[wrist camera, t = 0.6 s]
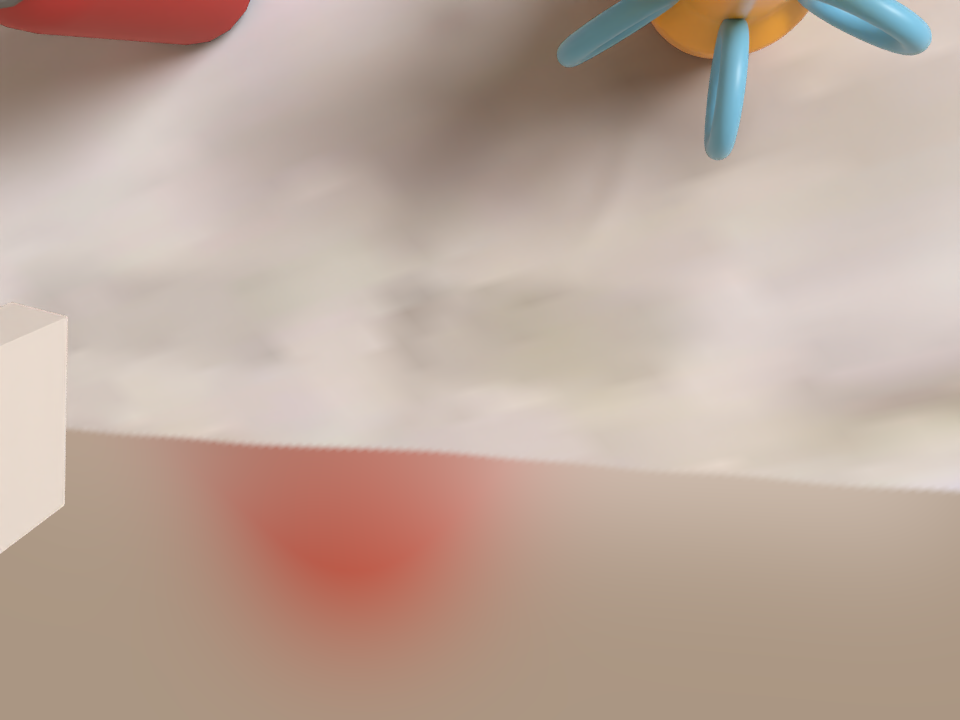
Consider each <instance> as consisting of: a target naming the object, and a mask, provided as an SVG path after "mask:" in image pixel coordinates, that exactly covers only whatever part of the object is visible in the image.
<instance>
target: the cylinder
mask: <svg viewBox="0 0 960 720" xmlns="http://www.w3.org/2000/svg"><path fill="white" fill-rule="evenodd" d="M808 11H810V12H811V13H813V14H814V15H816V16H817V17H819V18H821V19H822V20H824V21H826V22H827V23H829V24H831V25H832V26H834V27H836V28H838V29H840V30H842V31H844V32H846V33H848V34H850V35H852V36H854V37H856V38H858V39H860V40H862V41H865V42H867V43H869V44H872V45H874V46H877V47H879V48H882V49H885V50H888V51H891V52H894V53H898V54H902V55H916V54H919V53H921V52H923V51H924V50H926V49H927V48H928V46H929V45H930V42H931V39H932V34H931V30H930V28H929V26H928V25H927V24H926V23H925V21H924V20H923V19H921V18H920V17H919V16H918V15H917V14H915V13H914V12H913V11H911V10H910V9H908V8H907V7H905V6H904V5H902V4H901V3H899V2H897V1H895V0H621V1H619V2H618V3H616V4H615V5H613V6H611V7H610V8H608V9H607V10H605V11H604V12H602V13H601V14H599V15H598V16H596V17H595V18H593V19H592V20H590V21H589V22H587V23H586V24H585V25H583V26H582V27H580V28H579V29H578V30H576V31H575V32H574V33H572V34H571V35H570V36H569V37H568V38H566V39H565V40H564V41H563V42H562V43H561V45H560V46H559V48H558V50H557V59H558V61H559V63H560V64H561V65H563V66H565V67H574V66H577V65H579V64H581V63H583V62H585V61H587V60H589V59H591V58H593V57H594V56H596V55H598V54H600V53H601V52H603V51H605V50H606V49H608V48H610V47H612V46H613V45H615V44H617V43H618V42H620V41H621V40H623V39H625V38H626V37H628V36H629V35H631V34H633V33H634V32H636V31H637V30H639V29H640V28H642V27H644V26H645V25H647V24H648V23H650V22H651V23H652V24H653V26H654V27H655V29H656V30H657V31H658V33H659V34H660V35H661V36H662V37H663V38H664V39H665V40H666V41H667V42H669V43H670V44H671V45H673V46H674V47H676V48H677V49H679V50H681V51H683V52H685V53H688V54H690V55H693V56H696V57H701V58H708V59H713V60H712V67H711V74H710V81H709V89H708V97H707V107H706V118H705V136H704V143H705V151H706V153H707V155H708V156H709V157H710V158H711V159H714V160H722V159H724V158H726V157H727V156H728V155H729V154H730V153H731V151H732V149H733V146H734V143H735V140H736V136H737V132H738V128H739V123H740V118H741V112H742V106H743V100H744V93H745V86H746V78H747V68H748V56H749V53H752V52H755V51H758V50H760V49H762V48H765V47H767V46H769V45H771V44H772V43H774V42H776V41H777V40H779V39H780V38H782V37H783V36H784V35H786V34H787V33H788V32H789V31H791V30H792V29H793V28H794V27H795V26H796V25H797V24H798V23H799V22H800V21H801V20H802V19H803V17H804V16H805V15H806V14H807V13H808Z"/></svg>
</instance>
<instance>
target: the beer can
mask: <svg viewBox="0 0 960 720" xmlns="http://www.w3.org/2000/svg"><path fill="white" fill-rule="evenodd" d="M249 2H250V0H0V24H1V25H3V26H6V27H9V28H14V29H18V30H23V31H28V32H32V33H37V34H49V35H62V36H75V37H89V38H102V39H115V40H128V41H142V42H155V43H168V44H181V45H189V44H196V43H202V42H209V41H211V40H213V39H215V38H216V37H218V36H220V35H222V34H223V33H225V32H227V31H229V30H230V29H231V28H232V27H233V25H234V24H235V23H236V22H237V21H238V19H239V18H240V17H241V16H242V15H243V13H244V12H245V11H246V9H247V7H248V4H249Z"/></svg>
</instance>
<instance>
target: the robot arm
mask: <svg viewBox="0 0 960 720" xmlns="http://www.w3.org/2000/svg"><path fill="white" fill-rule="evenodd" d="M67 325H68V316H64V315H60V314H56V313H52V312H48V311H44V310H41V309H37V308H33V307H29V306H25V305H21V304H17V303H14V302H11V303H8V304H6V305H3V306H0V553H2V552H3V551H4V550H6V549H7V548H8V547H10V546H11V545H12V544H14V543H15V542H16V541H18V540H19V539H20V538H22V537H23V536H24V535H26V534H27V533H28V532H30V531H31V530H32V529H34V528H35V527H36V526H38V525H39V524H40V523H42V522H43V521H44V520H46V519H47V518H48V517H50V516H51V515H52V514H53V513H55V512H56V511H57V510H59V509H60V508H61V507H63V506H64V505H65V452H66V451H65V450H66V448H65V447H66V388H67Z"/></svg>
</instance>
